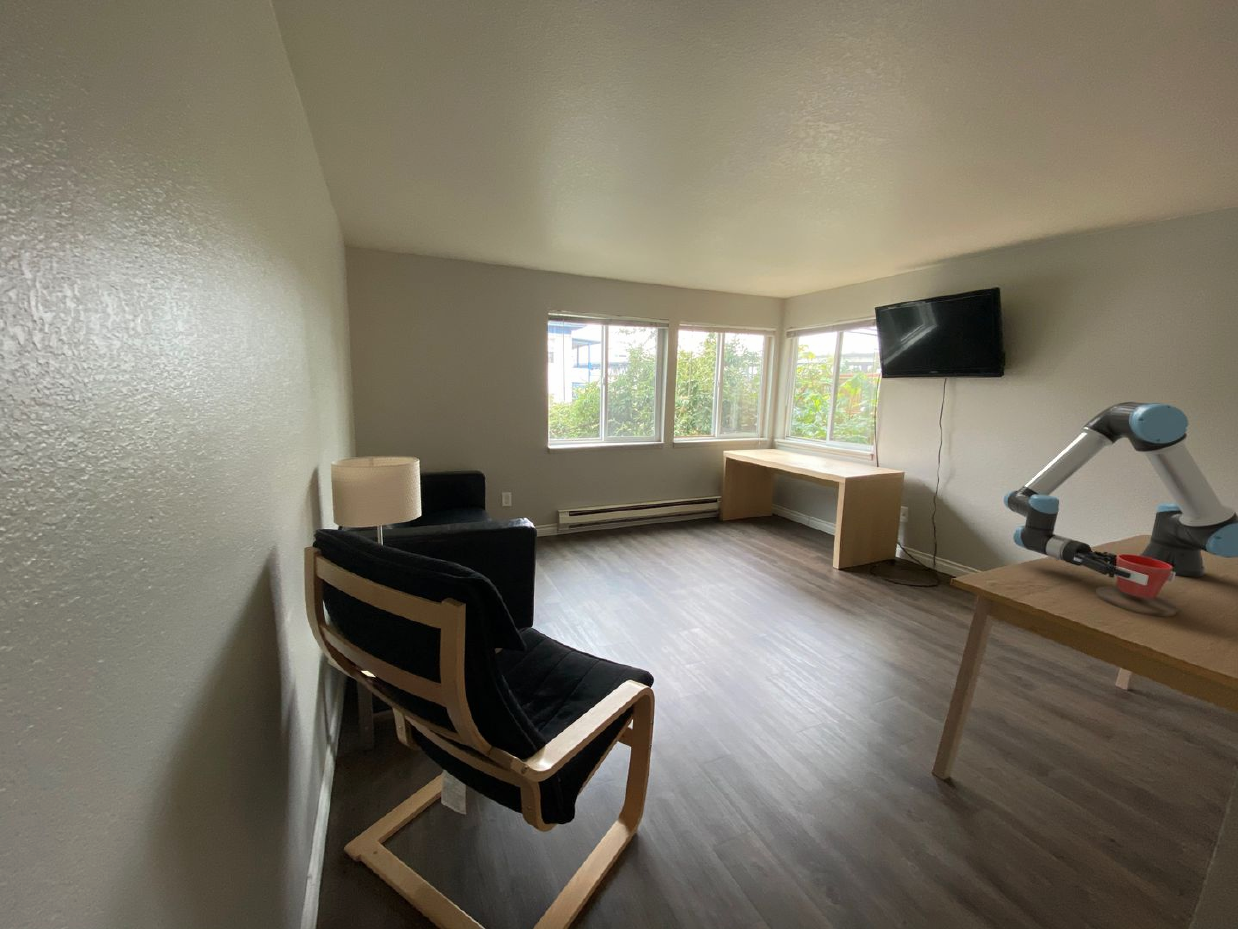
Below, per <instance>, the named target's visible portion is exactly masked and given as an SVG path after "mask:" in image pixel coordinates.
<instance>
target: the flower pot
mask: <svg viewBox="0 0 1238 929" xmlns="http://www.w3.org/2000/svg"><path fill="white" fill-rule="evenodd" d="M1116 555H1117V566H1116V568H1117V567H1122V568H1125V569H1128V570H1132V571H1135V572H1138V573H1141V574H1144V575H1148V576H1149V577H1148V581H1147V585H1142V584H1139V583H1136V582H1133V581H1130V580H1127V579H1124V578H1121V577H1118V576H1116V582H1117V586H1116V587H1118V589H1120V590H1121V591H1123V592H1125V593H1128V594H1131V595H1135V596H1139V597H1145V598H1155V597H1156V596H1157V597H1158V595H1159V593H1160V591H1161V590H1162V588H1163V587H1164V586H1165V583H1166V582H1167V578H1168V576H1169V574H1170V573H1171V571H1172V568H1173V567H1172V566H1171V565H1169V564H1167V563H1165V562H1162V561H1159V560H1156V559H1152V558H1148V557H1143V556H1140V555H1138V554H1127V553H1120V554H1116Z"/></svg>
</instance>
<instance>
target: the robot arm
mask: <svg viewBox="0 0 1238 929" xmlns="http://www.w3.org/2000/svg"><path fill="white" fill-rule="evenodd" d="M1188 427H1189V419H1188V417H1187V415H1186V414H1185V413H1184V411H1183V410H1181V409H1180V408H1178V407H1176V406H1173V405H1169V404H1164V403H1159V402H1149V403H1147V402H1135V401H1124V402H1119V403H1116V404H1113V405H1110V406H1109V407H1107V408H1106V409H1104V410H1103V411H1101V412H1099V413H1098V414H1097V415H1095V416H1094V417H1093V418H1092V419H1090V420H1088V422H1087V423H1086V424H1085V425H1083V426H1082V427H1081V430H1080V431H1081V433H1080V434H1079V435H1078V436H1076V438H1074V439H1073V440H1072V441H1071V442H1070V443H1068V445H1066V447H1064V448H1063V449H1062V450H1061V451H1060V452H1059V453H1058V454H1056V455H1055V457H1054V458H1052V460H1051V461H1049V462H1048V463H1047V464H1046V465H1045V466H1043V468H1041V469H1040V471H1038V472H1037V473H1036V474H1035V475H1034V476H1033V477H1032V478H1030V479H1029V481H1027V482H1026V483H1025V484H1024V485H1023V486H1022V487H1020V488H1019V489H1018V490H1012V491H1011V490H1010V491H1009V492H1007V493H1006V494H1005V495H1004V497H1003V504H1004V505H1005V507H1006V508H1007V509H1009V510H1010V511H1011V512H1012V513H1016V514H1018V515H1020V516H1022V517H1025V523H1024V524H1025V525H1022V526H1018V527H1017V528H1016V529H1015V532H1014V533H1013V536H1012V539H1013V542H1014V543H1015V545H1017V546H1019V547H1021V548H1024V549H1026V550H1027V551H1030V552H1035V553H1038V554H1041V555H1043V556H1047V557H1051V558H1054V560H1055V561H1059V560H1060V561H1063V562H1065V563H1067V564H1071V565H1075V566H1077V567H1080V566H1083V567H1085V568H1088V569H1089V570H1092V571H1094V572H1096V573H1100V574H1102V575H1104V576H1106V575H1107V576H1108V577H1109V578H1110V579H1111V578H1115V576H1116V577H1117V576H1118V577H1121V578H1124V579H1127V580H1130V581H1133V582H1136V583H1139V584H1142V585H1147V581H1148V577H1149V576H1148V575H1144V574H1141V573H1138V572H1135V571H1132V570H1128V569H1125V568H1122V567H1117V555H1118V554H1114V553H1110V552H1107V551H1103V552H1102V551H1098V550H1097V551H1093V550H1092V548H1091V545H1089V544H1088V543H1086V542H1082V541H1079V540H1075V539H1072V538H1069V537H1065V536H1061V535H1058V534H1054V531H1055V526H1056V522H1057V518H1058V514H1059V511H1060V507H1059V506H1060V499H1059V498H1057V497H1055V496H1051V495H1052V494H1053V493H1054V492H1055V491H1057V489H1058V488H1060V487H1061V486H1062V485H1063V484H1064V483H1065V482H1066V481H1068V479H1070V478H1071V477H1072V476H1073V475H1074V474H1076V472H1078V471H1079V470H1080V469H1081V468H1082V467H1083V466H1085V465H1086V464H1087V463H1088V462H1089V461H1090V460H1091V459H1092V458H1093V457H1094V456H1096V455H1097V454H1098V453H1099V452H1101V450H1103V449H1104V448H1105V447H1106V446H1107V447H1108V446H1109V447H1110V446H1113V445H1114V444H1115V443H1117V441H1119V440H1121V439H1123V438H1124V439H1125V438H1127V439H1128V441H1129V442H1130V444H1131V445H1132V448H1134V451H1136V452H1138V453H1141V454H1145V456H1146V457H1147V459H1148V460H1149V462H1150V464H1151V465H1152V467H1153V469H1154V470H1155V471H1156V474H1157V475H1158V476H1159V477H1160V479H1161V481H1162V483H1163V484H1164V486H1165V488H1166V489H1167V491H1168V493H1169V494H1170V496H1171V498H1173V500H1174V502H1175V503H1173V502H1172V503H1171V502H1164V503H1163V502H1162V503H1161V504H1159V505H1158V507H1157V510H1156V512H1155V518H1154V523H1153V527H1152V531H1151V536H1150V539H1149V543H1148V544H1147V546H1146V548H1145V549H1143V552H1142V553H1140V554H1139V556H1143V557H1148V558H1152V559H1156V560H1159V561H1162V562H1165V563H1167V564H1169V565H1171V566H1172V567H1173V568H1172V571H1171V573H1170V574H1169V576H1168V578H1167V580H1166V582H1171V583H1174V581H1175V576H1176V575H1177V576H1184V577H1190V578H1192V577H1193V578H1194V577H1195V578H1196V577H1200V578H1201V577H1203V576H1204V574H1205V566H1204V562H1203V556H1202V552H1203V551H1204V552H1206V553H1208V554H1210V555H1212V556H1217V557H1218V556H1219V557H1221V558H1225V559H1234V558H1235V559H1237V558H1238V515H1237V513H1236V511H1235V510H1234V509H1233V507H1230V506H1227V505H1223V504H1222V503H1221V501H1220V499H1219V498H1218V496H1217V495H1216V493H1215V491H1214V490H1213V488H1212V486H1211V485H1210V483H1209V481H1208V480H1207V478H1206V477H1205V475H1204V473H1203V471H1202V470H1201V469H1200V467H1199V465H1198V464H1197V462H1196V461H1195V459H1194V457H1193V456H1192V454H1191V452H1190V451H1189V449H1188V448H1187V446H1186V445H1185V443H1184V442H1185V440H1186V439H1188V435H1187V430H1188V429H1187V428H1188Z"/></svg>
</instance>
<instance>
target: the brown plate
mask: <svg viewBox="0 0 1238 929" xmlns="http://www.w3.org/2000/svg"><path fill="white" fill-rule="evenodd" d="M1095 595H1097V596H1096V597H1097V598H1098V599H1100V600H1102V601H1103V602H1105V603H1107V604H1109V605H1112V606H1113V607H1116V608H1119V609H1123V610H1127V611H1129V612H1133V613H1138V614H1142V615H1148V616H1154V617H1164V618H1165V617H1167V618H1169V617H1174V616H1176V615H1177V612H1178V607H1177V606H1176V605H1175V604H1174V603H1172V602H1170V601H1169V600H1166V599H1165V598H1161V597H1160V596H1158V595H1157V596H1156V597H1155V598H1145V597H1139V596H1135V595H1131V594H1128V593H1125V592H1123V591H1121V590H1120V589H1118V586H1109V585H1107V586H1105V585H1104V586H1098V587H1097V588H1096V591H1095Z"/></svg>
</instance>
